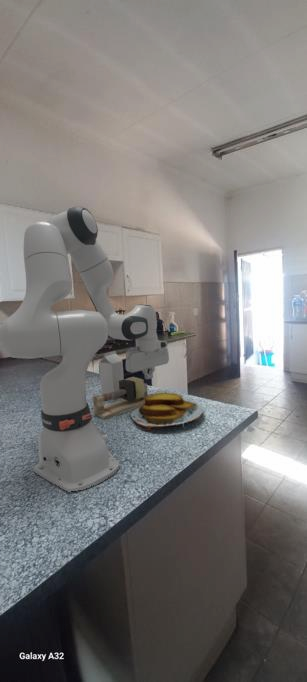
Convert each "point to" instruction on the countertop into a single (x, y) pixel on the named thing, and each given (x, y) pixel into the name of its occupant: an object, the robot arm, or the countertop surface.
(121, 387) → the dark grey hooked block
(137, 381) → the tan block
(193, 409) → the food on plate
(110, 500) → the countertop surface
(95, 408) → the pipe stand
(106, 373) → the milk carton
